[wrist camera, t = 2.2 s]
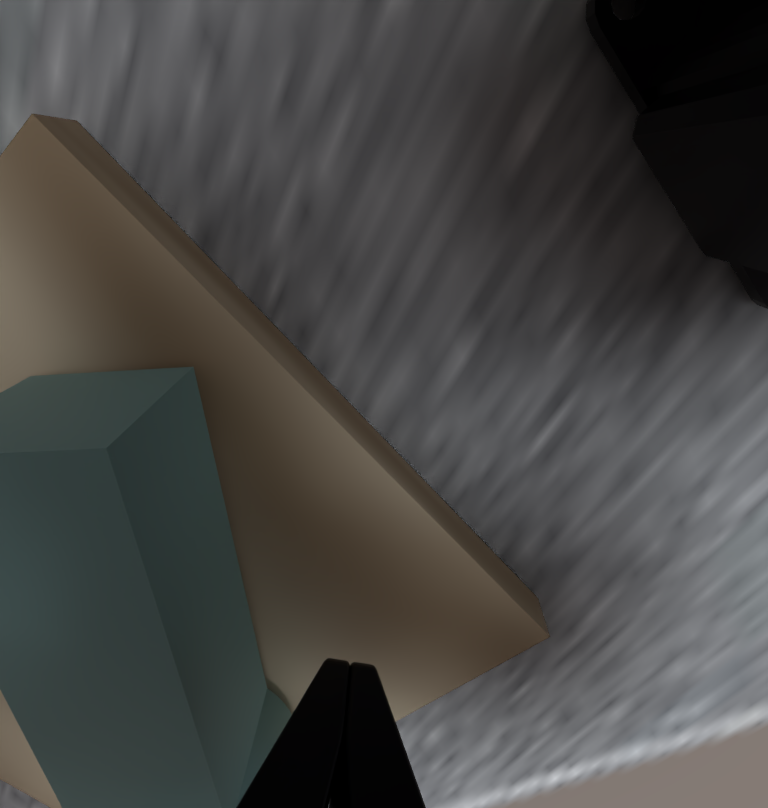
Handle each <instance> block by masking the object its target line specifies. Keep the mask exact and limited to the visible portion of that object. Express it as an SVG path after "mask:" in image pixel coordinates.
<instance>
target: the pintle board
mask: <svg viewBox="0 0 768 808" xmlns="http://www.w3.org/2000/svg"><path fill="white" fill-rule="evenodd" d="M178 367H194V371H195V376H196V380H197V384H198V389H199V393H200V397H201V402H202V406H203V410H204V415H205V419H206V423H207V428H208V432H209V437H210V441H211V445H212V450H213V454H214V458H215V463H216V467H217V471H218V476H219V480H220V485H221V489H222V493H223V498H224V502H225V506H226V511H227V515H228V519H229V524H230V528H231V532H232V537H233V541H234V546H235V550H236V554H237V559H238V563H239V567H240V572H241V576H242V580H243V585H244V589H245V594H246V598H247V602H248V607H249V611H250V615H251V620H252V624H253V628H254V633H255V637H256V641H257V646H258V650H259V655H260V659H261V663H262V668H263V672H264V676H265V681H266V685H267V688H268V689H269V690H271V691H272V692H273V693H274V694H276V695H277V696H278V697H279V698H280V699H281V700H282V701H283V702H284V703H285V705H286V706H287V707H288V709H289V710H290V712H291V714H293V712H294V710H295V709H296V707H297V705H298V704H299V702H300V700H301V699H302V697H303V695H304V694H305V692H306V690H307V689H308V687H309V685H310V683H311V682H312V680H313V678H314V677H315V675H316V673H317V672H318V670H319V668H320V667H321V665H322V663H323V662H324V661H325V660H326V659H327V658H333V659H340V660H346V661H348V662H349V664H350V665H351V663H353V662H359V663H366V664H372V665H374V666H375V667H376V669H377V671H378V674H379V677H380V680H381V682H382V685H383V688H384V691H385V694H386V697H387V699H388V702H389V705H390V708H391V711H392V714H393V716H394V719H395V722H396V721H398V720H399V719H401V718H403V717H405V716H407V715H409V714H410V713H412V712H414V711H416V710H418V709H420V708H421V707H423V706H425V705H427V704H429V703H430V702H432V701H434V700H436V699H438V698H440V697H441V696H443V695H445V694H447V693H449V692H450V691H452V690H454V689H456V688H458V687H460V686H461V685H463V684H465V683H467V682H469V681H470V680H472V679H474V678H476V677H478V676H480V675H481V674H483V673H485V672H487V671H489V670H491V669H492V668H494V667H496V666H498V665H500V664H501V663H503V662H505V661H507V660H509V659H511V658H512V657H514V656H516V655H518V654H520V653H521V652H523V651H525V650H527V649H529V648H531V647H532V646H534V645H536V644H538V643H540V642H541V641H543V640H545V639H547V638H549V637H550V635H549V632H548V629H547V626H546V622H545V619H544V616H543V613H542V610H541V607H540V604H539V600H538V598H537V597H536V596H535V595H534V594H533V593H532V592H531V591H530V589H529V588H528V587H527V586H526V585H525V584H524V583H523V582H522V581H521V580H520V579H519V578H518V577H517V576H516V575H515V574H514V573H513V572H512V571H511V570H510V569H509V568H508V567H507V566H506V565H505V564H504V563H503V562H502V560H501V559H500V558H499V557H498V556H497V555H496V554H495V553H494V552H493V551H492V550H491V549H490V548H489V547H488V546H487V545H486V544H485V543H484V542H483V541H482V540H481V539H480V538H479V537H478V536H477V535H476V534H475V533H474V532H473V530H472V529H471V528H470V527H469V526H468V525H467V524H466V523H465V522H464V521H463V520H462V519H461V518H460V517H459V516H458V515H457V514H456V513H455V512H454V511H453V510H452V509H451V508H450V507H449V506H448V505H447V504H446V503H445V502H444V500H443V499H442V498H441V497H440V496H439V495H438V494H437V493H436V492H435V491H434V490H433V489H432V488H431V487H430V486H429V485H428V484H427V483H426V482H425V481H424V480H423V479H422V478H421V477H420V476H419V475H418V474H417V473H416V471H415V470H414V469H413V468H412V467H411V466H410V465H409V464H408V463H407V462H406V461H405V460H404V459H403V458H402V457H401V456H400V455H399V454H398V453H397V452H396V451H395V450H394V449H393V448H392V447H391V446H390V445H389V444H388V443H387V441H386V440H385V439H384V438H383V437H382V436H381V435H380V434H379V433H378V432H377V431H376V430H375V429H374V428H373V427H372V426H371V425H370V424H369V423H368V422H367V421H366V420H365V419H364V418H363V417H362V416H361V415H360V414H359V413H358V411H357V410H356V409H355V408H354V407H353V406H352V405H351V404H350V403H349V402H348V401H347V400H346V399H345V398H344V397H343V396H342V395H341V394H340V393H339V392H338V391H337V390H336V389H335V388H334V387H333V386H332V385H331V384H330V382H329V381H328V380H327V379H326V378H325V377H324V376H323V375H322V374H321V373H320V372H319V371H318V370H317V369H316V368H315V367H314V366H313V365H312V364H311V363H310V362H309V361H308V360H307V359H306V358H305V357H304V356H303V355H302V354H301V352H300V351H299V350H298V349H297V348H296V347H295V346H294V345H293V344H292V343H291V342H290V341H289V340H288V339H287V338H286V337H285V336H284V335H283V334H282V333H281V332H280V331H279V330H278V329H277V328H276V327H275V326H274V325H273V324H272V322H271V321H270V320H269V319H268V318H267V317H266V316H265V315H264V314H263V313H262V312H261V311H260V310H259V309H258V308H257V307H256V306H255V305H254V304H253V303H252V302H251V301H250V300H249V299H248V298H247V297H246V296H245V295H244V293H243V292H242V291H241V290H240V289H239V288H238V287H237V286H236V285H235V284H234V283H233V282H232V281H231V280H230V279H229V278H228V277H227V276H226V275H225V274H224V273H223V272H222V271H221V270H220V269H219V268H218V267H217V266H216V265H215V263H214V262H213V261H212V260H211V259H210V258H209V257H208V256H207V255H206V254H205V253H204V252H203V251H202V250H201V249H200V248H199V247H198V246H197V245H196V244H195V243H194V242H193V241H192V240H191V239H190V238H189V237H188V236H187V235H186V233H185V232H184V231H183V230H182V229H181V228H180V227H179V226H178V225H177V224H176V223H175V222H174V221H173V220H172V219H171V218H170V217H169V216H168V215H167V214H166V213H165V212H164V211H163V210H162V209H161V208H160V207H159V206H158V204H157V203H156V202H155V201H154V200H153V199H152V198H151V197H150V196H149V195H148V194H147V193H146V192H145V191H144V190H143V189H142V188H141V187H140V186H139V185H138V184H137V183H136V182H135V181H134V180H133V179H132V178H131V177H130V176H129V174H128V173H127V172H126V171H125V170H124V169H123V168H122V167H121V166H120V165H119V164H118V163H117V162H116V161H115V160H114V159H113V158H112V157H111V156H110V155H109V154H108V153H107V152H106V151H105V150H104V149H103V148H102V147H101V146H100V144H99V143H98V142H97V141H96V140H95V139H94V138H93V137H92V136H91V135H90V134H89V133H88V132H87V131H86V130H85V129H84V128H83V127H82V126H81V125H80V124H79V123H78V122H77V121H75V120H69V119H63V118H56V117H50V116H44V115H37V114H31V116H30V117H29V118H28V120H27V121H26V122H25V124H24V125H23V126H22V128H21V129H20V130H19V132H18V133H17V134H16V136H15V137H14V138H13V140H12V141H11V142H10V144H9V145H8V146H7V148H6V149H5V150H4V152H3V153H2V154H1V156H0V393H1V392H3V391H4V390H6V389H8V388H10V387H12V386H14V385H15V384H17V383H19V382H21V381H23V380H25V379H26V378H28V377H30V376H39V375H56V374H73V373H91V372H108V371H126V370H143V369H161V368H178ZM0 779H1V780H3V781H4V782H6V783H8V784H10V785H12V786H13V787H15V788H17V789H19V790H20V791H22V792H24V793H26V794H27V795H29V796H31V797H33V798H34V799H36V800H38V801H40V802H41V803H43V804H45V805H47V806H48V807H50V808H62V807H61V805H60V803H59V801H58V799H57V797H56V795H55V793H54V791H53V789H52V787H51V786H50V784H49V782H48V780H47V778H46V776H45V774H44V772H43V770H42V768H41V766H40V764H39V763H38V761H37V759H36V757H35V755H34V753H33V751H32V749H31V747H30V745H29V743H28V742H27V740H26V738H25V736H24V734H23V732H22V730H21V728H20V726H19V724H18V722H17V721H16V719H15V717H14V715H13V713H12V711H11V709H10V707H9V705H8V703H7V701H6V700H5V698H4V696H3V694H2V692H1V690H0Z"/></svg>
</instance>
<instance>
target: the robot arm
mask: <svg viewBox="0 0 768 808" xmlns="http://www.w3.org/2000/svg"><path fill="white" fill-rule="evenodd" d="M611 1H612V0H588V1H587V4H586V21H587V24H588V27H589V30H590V33H591V34H592V36H593V38H594V39H595V41H596V43H597V44H598V46H599V48H600V49H601V51H602V53H603V54H604V56H605V58H606V59H607V61H608V63H609V64H610V66H611V68H612V69H613V71H614V72H615V74H616V76H617V77H618V79H619V81H620V82H621V84H622V86H623V87H624V89H625V91H626V92H627V94H628V96H629V97H630V99H631V101H632V102H633V104H634V106H635V107H636V109H637V111H638V112H639V115H638V116H637V117H636V119H635V125H634V131H633V140H634V142H635V144H636V146H637V147H638V149H639V150H640V152H641V154H642V155H643V157H644V159H645V160H646V162H647V163H648V165H649V167H650V168H651V170H652V171H653V173H654V175H655V176H656V178H657V180H658V181H659V183H660V184H661V186H662V188H663V189H664V191H665V193H666V194H667V196H668V197H669V199H670V201H671V202H672V204H673V205H674V207H675V209H676V210H677V212H678V214H679V215H680V217H681V218H682V220H683V222H684V223H685V225H686V227H687V228H688V230H689V231H690V233H691V235H692V236H693V238H694V239H695V241H696V243H697V244H698V246H699V248H700V249H701V251H702V252H703V253H704V254H705V255H706V256H709V257H712V258H716V259H720V260H723V261H727V262H729V263H730V265H731V266H732V268H733V270H734V271H735V273H736V275H737V276H738V278H739V280H740V281H741V283H742V285H743V286H744V288H745V290H746V291H747V293H748V295H749V296H750V298H751V299H752V300H753V301H754V302H755V303H756V304H757V305H759V306H762V307H765V308H767V309H768V0H636V6H635V11H634V14H633V16H632V17H631V18H630V20H620V19H619V18H618V17H617V16H616V15H615V14H614V13H613V10H612V6H611ZM328 805H329V808H426V807H425V804H424V801H423V798H422V796H421V793H420V790H419V787H418V784H417V781H416V779H415V776H414V773H413V770H412V767H411V765H410V762H409V759H408V756H407V753H406V750H405V748H404V745H403V742H402V739H401V736H400V733H399V731H398V728H397V725H396V722H395V719H394V716H393V714H392V711H391V708H390V705H389V702H388V699H387V697H386V694H385V691H384V688H383V685H382V682H381V680H380V677H379V674H378V671H377V669H376V667H375V666H374V665H372V664H366V663H359V662H353V663H351V665H350V664H349V662H348V661H346V660H340V659H333V658H327V659H326V660H325V661H324V662H323V663H322V665H321V667H320V668H319V670H318V672H317V673H316V675H315V677H314V678H313V680H312V682H311V683H310V685H309V687H308V689H307V690H306V692H305V694H304V695H303V697H302V699H301V700H300V702H299V704H298V705H297V707H296V709H295V710H294V712H293V714H292V715H291V717H290V719H289V720H288V722H287V724H286V725H285V727H284V729H283V730H282V732H281V734H280V735H279V737H278V739H277V740H276V742H275V744H274V745H273V747H272V749H271V750H270V752H269V754H268V755H267V757H266V759H265V760H264V762H263V764H262V765H261V767H260V769H259V770H258V772H257V774H256V775H255V777H254V779H253V780H252V782H251V784H250V785H249V787H248V789H247V790H246V792H245V794H244V795H243V797H242V799H241V800H240V802H239V804H238V806H237V807H236V808H328Z"/></svg>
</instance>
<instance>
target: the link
mask: <svg viewBox="0 0 768 808" xmlns="http://www.w3.org/2000/svg"><path fill="white" fill-rule="evenodd" d="M0 690H1V692H2V694H3V696H4V698H5V700H6V701H7V703H8V705H9V707H10V709H11V711H12V713H13V715H14V717H15V719H16V721H17V722H18V724H19V726H20V728H21V730H22V732H23V734H24V736H25V738H26V740H27V742H28V743H29V745H30V747H31V749H32V751H33V753H34V755H35V757H36V759H37V761H38V763H39V764H40V766H41V768H42V770H43V772H44V774H45V776H46V778H47V780H48V782H49V784H50V786H51V787H52V789H53V791H54V793H55V795H56V797H57V799H58V801H59V803H60V805H61V807H62V808H236V807H237V806H238V804H239V802H240V800H241V799H242V797H243V795H244V794H245V792H246V790H247V789H248V787H249V785H250V784H251V782H252V780H253V779H254V777H255V775H256V774H257V772H258V770H259V769H260V767H261V765H262V764H263V762H264V760H265V759H266V757H267V755H268V754H269V752H270V750H271V749H272V747H273V745H274V744H275V742H276V740H277V739H278V737H279V735H280V734H281V732H282V730H283V729H284V727H285V725H286V724H287V722H288V720H289V719H290V717H291V715H292V714H291V712H290V710H289V709H288V707H287V706H286V705H285V703H284V702H283V701H282V700H281V699H280V698H279V697H278V696H277V695H276V694H274V693H273V692H272V691H271V690H269V689H268V688H267V685H266V681H265V676H264V672H263V668H262V663H261V659H260V655H259V650H258V646H257V641H256V637H255V633H254V628H253V624H252V620H251V615H250V611H249V607H248V602H247V598H246V594H245V589H244V585H243V580H242V576H241V572H240V567H239V563H238V559H237V554H236V550H235V546H234V541H233V537H232V532H231V528H230V524H229V519H228V515H227V511H226V506H225V502H224V498H223V493H222V489H221V485H220V480H219V476H218V471H217V467H216V463H215V458H214V454H213V450H212V445H211V441H210V437H209V432H208V428H207V423H206V419H205V415H204V410H203V406H202V402H201V397H200V393H199V389H198V384H197V380H196V376H195V371H194V367H178V368H161V369H143V370H126V371H108V372H91V373H73V374H56V375H39V376H30V377H28V378H26V379H25V380H23V381H21V382H19V383H17V384H15V385H14V386H12V387H10V388H8V389H6V390H4V391H3V392H1V393H0Z"/></svg>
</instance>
